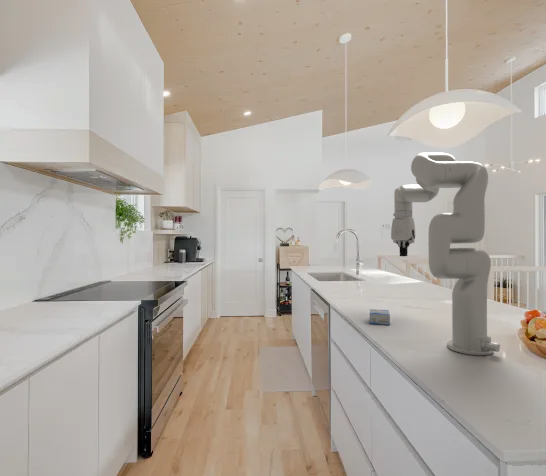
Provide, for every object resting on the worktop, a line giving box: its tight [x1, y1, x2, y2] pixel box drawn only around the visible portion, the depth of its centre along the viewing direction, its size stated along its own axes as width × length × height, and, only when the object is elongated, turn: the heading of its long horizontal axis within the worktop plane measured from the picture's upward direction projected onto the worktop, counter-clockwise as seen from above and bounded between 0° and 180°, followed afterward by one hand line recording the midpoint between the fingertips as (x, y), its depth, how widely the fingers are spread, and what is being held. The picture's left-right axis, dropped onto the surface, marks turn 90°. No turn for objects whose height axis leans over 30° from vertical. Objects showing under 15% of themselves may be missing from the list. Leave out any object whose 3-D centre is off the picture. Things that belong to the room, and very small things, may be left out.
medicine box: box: [369, 309, 391, 326], centre depth 145 cm, size 8×4×9 cm
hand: (403, 256), depth 158 cm, fingers closed
